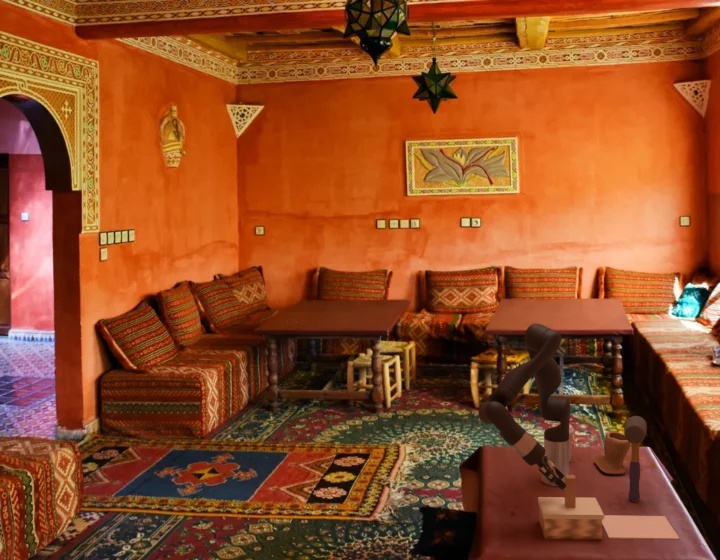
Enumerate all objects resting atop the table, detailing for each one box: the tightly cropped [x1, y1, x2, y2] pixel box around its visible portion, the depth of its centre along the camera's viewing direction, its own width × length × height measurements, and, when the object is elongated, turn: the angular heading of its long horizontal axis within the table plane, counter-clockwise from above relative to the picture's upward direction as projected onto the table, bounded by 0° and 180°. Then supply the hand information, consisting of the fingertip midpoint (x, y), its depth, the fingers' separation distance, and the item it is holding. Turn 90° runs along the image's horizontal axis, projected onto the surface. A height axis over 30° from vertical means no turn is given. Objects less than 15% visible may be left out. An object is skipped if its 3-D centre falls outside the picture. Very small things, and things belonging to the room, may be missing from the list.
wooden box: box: [538, 508, 603, 541], centre depth 270 cm, size 18×13×7 cm
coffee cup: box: [551, 422, 575, 463], centre depth 333 cm, size 10×10×15 cm
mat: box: [602, 514, 680, 540], centre depth 271 cm, size 22×17×1 cm
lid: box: [537, 474, 605, 520], centre depth 269 cm, size 19×14×12 cm
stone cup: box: [592, 431, 631, 475], centre depth 322 cm, size 15×12×15 cm
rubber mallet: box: [623, 415, 648, 503], centre depth 291 cm, size 12×8×30 cm, turn 158°
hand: (563, 482), depth 268 cm, fingers open, 8 cm apart
